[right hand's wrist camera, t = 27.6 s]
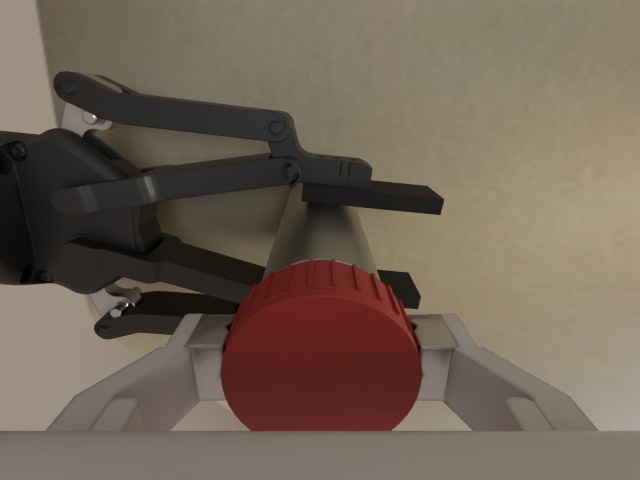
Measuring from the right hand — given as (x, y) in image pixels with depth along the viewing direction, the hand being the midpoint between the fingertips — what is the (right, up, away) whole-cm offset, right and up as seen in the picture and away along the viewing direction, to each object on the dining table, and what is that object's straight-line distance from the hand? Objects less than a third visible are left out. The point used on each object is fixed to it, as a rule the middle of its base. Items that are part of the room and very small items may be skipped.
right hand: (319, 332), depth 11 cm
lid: (0, -1, -2) cm, 2 cm away
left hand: (+5, +2, +8) cm, 10 cm away
